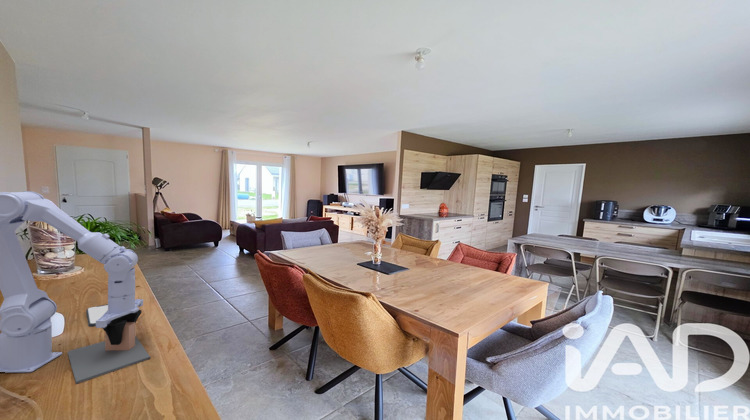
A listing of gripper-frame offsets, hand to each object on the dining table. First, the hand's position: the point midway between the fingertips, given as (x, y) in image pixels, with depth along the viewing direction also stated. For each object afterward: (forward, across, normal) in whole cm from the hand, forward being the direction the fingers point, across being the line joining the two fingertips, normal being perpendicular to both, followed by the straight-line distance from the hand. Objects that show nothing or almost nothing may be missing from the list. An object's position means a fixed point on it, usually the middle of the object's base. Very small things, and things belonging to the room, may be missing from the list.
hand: (121, 340), depth 80 cm
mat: (+3, -3, +1) cm, 4 cm away
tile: (+2, 0, 0) cm, 2 cm away
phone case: (+3, +22, +21) cm, 30 cm away
